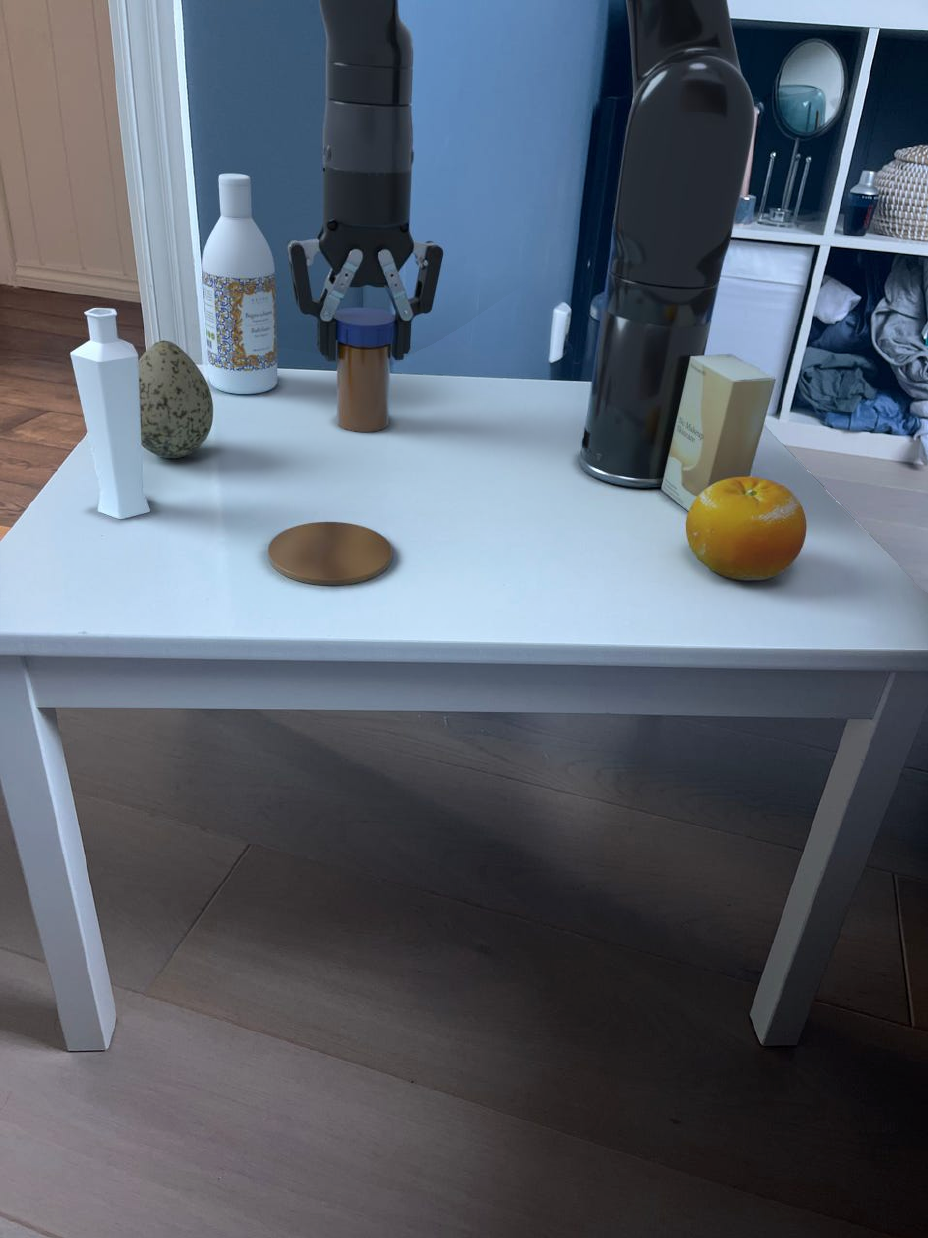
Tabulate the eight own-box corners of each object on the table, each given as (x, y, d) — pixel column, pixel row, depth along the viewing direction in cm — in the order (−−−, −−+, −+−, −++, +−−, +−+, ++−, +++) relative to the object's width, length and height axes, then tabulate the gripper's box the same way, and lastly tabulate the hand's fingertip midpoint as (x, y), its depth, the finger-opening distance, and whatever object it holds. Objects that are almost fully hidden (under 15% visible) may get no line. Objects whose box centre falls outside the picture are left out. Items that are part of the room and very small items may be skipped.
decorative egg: (158, 434, 88) (147, 323, 83) (230, 448, 87) (224, 336, 82) (113, 463, 82) (99, 345, 77) (190, 478, 81) (180, 359, 76)
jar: (382, 412, 97) (384, 315, 92) (393, 430, 93) (397, 330, 88) (332, 414, 96) (332, 315, 91) (342, 433, 92) (342, 331, 87)
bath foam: (233, 400, 97) (222, 183, 86) (196, 380, 101) (181, 171, 91) (291, 388, 101) (287, 180, 91) (253, 369, 105) (245, 168, 95)
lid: (344, 324, 93) (344, 304, 92) (403, 332, 92) (403, 312, 91) (323, 341, 88) (323, 319, 87) (384, 349, 87) (385, 328, 86)
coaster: (376, 523, 76) (377, 517, 76) (405, 579, 69) (405, 573, 69) (260, 531, 74) (260, 525, 73) (277, 591, 67) (277, 584, 66)
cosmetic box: (658, 490, 86) (685, 353, 79) (699, 486, 87) (729, 351, 81) (701, 522, 81) (733, 379, 74) (743, 516, 83) (778, 375, 76)
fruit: (654, 499, 75) (729, 436, 70) (731, 524, 80) (806, 466, 74) (681, 591, 71) (762, 531, 66) (760, 612, 76) (842, 558, 70)
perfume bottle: (139, 525, 73) (116, 324, 65) (85, 516, 74) (56, 316, 66) (167, 500, 77) (149, 308, 69) (116, 492, 78) (91, 300, 70)
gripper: (437, 158, 87) (427, 345, 96) (275, 151, 83) (280, 347, 92) (461, 171, 81) (448, 369, 90) (288, 164, 77) (292, 373, 86)
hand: (363, 357), depth 91 cm, fingers closed on lid, 6 cm apart
